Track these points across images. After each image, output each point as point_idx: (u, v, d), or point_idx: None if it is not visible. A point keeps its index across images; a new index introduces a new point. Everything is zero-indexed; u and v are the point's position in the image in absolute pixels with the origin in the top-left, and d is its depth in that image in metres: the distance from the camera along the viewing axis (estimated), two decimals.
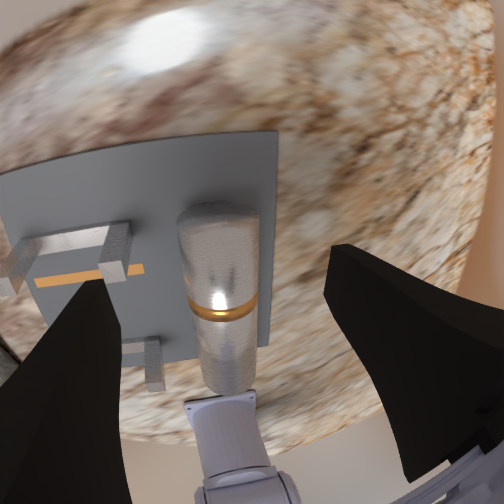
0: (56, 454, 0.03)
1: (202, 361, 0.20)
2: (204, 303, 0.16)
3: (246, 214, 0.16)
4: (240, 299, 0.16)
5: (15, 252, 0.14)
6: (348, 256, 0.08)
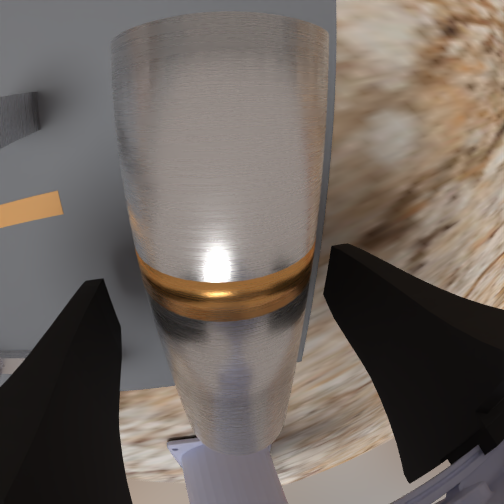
0: (56, 454, 0.03)
1: (185, 403, 0.09)
2: (173, 263, 0.05)
3: None
4: (281, 250, 0.06)
5: None
6: (348, 256, 0.08)
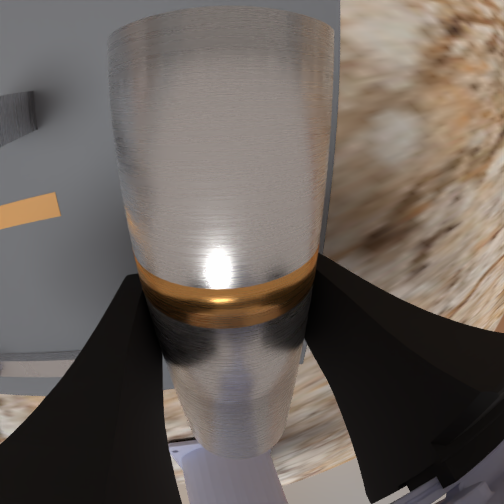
0: (131, 456, 0.03)
1: (185, 407, 0.09)
2: (172, 269, 0.05)
3: None
4: (284, 256, 0.05)
5: None
6: None
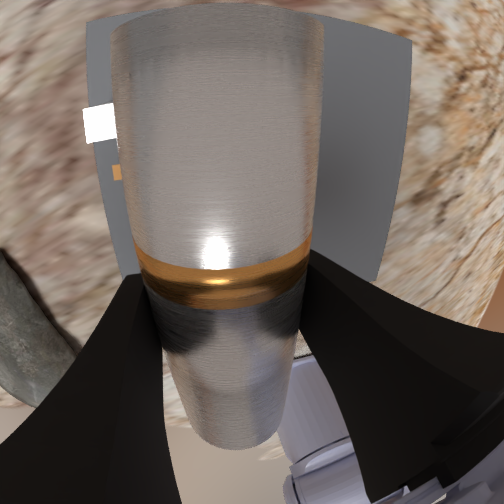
0: (131, 456, 0.03)
1: (179, 392, 0.09)
2: (162, 249, 0.06)
3: None
4: (269, 240, 0.05)
5: None
6: None
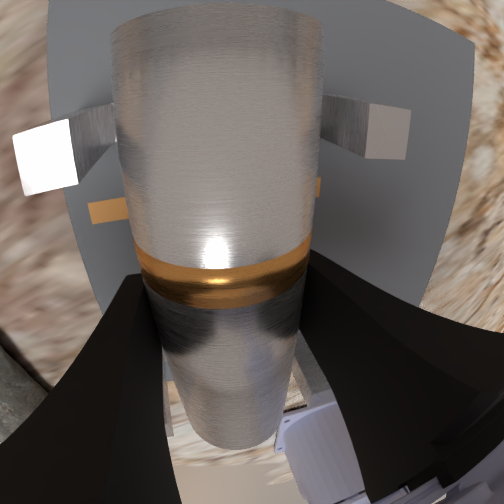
0: (131, 456, 0.03)
1: (179, 392, 0.09)
2: (163, 248, 0.06)
3: None
4: (269, 239, 0.05)
5: (75, 112, 0.06)
6: None
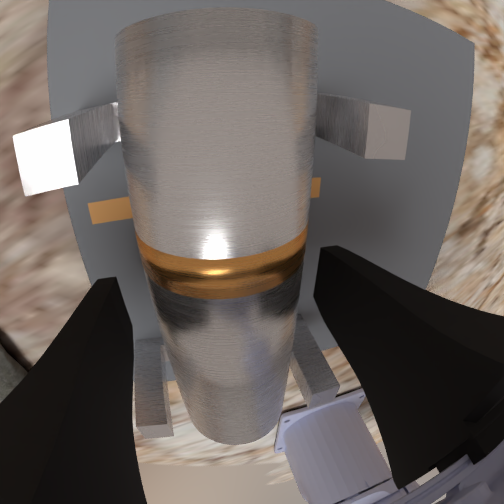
0: (77, 455, 0.03)
1: (180, 386, 0.10)
2: (165, 240, 0.06)
3: None
4: (267, 230, 0.06)
5: (75, 113, 0.06)
6: (336, 258, 0.08)
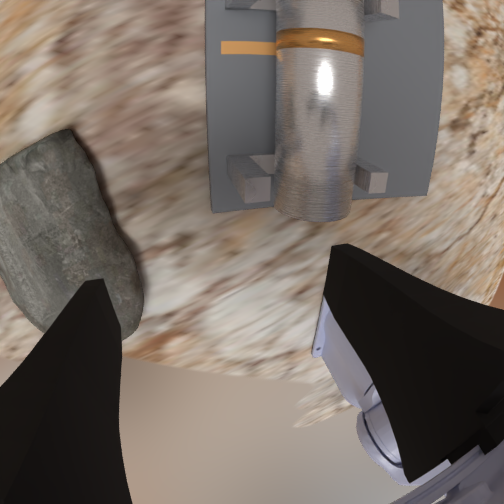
0: (56, 454, 0.03)
1: (292, 148, 0.14)
2: (316, 22, 0.10)
3: None
4: (356, 26, 0.10)
5: None
6: (348, 256, 0.08)
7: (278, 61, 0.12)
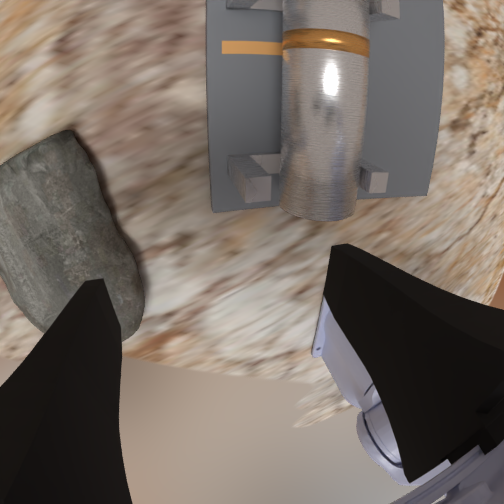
0: (56, 454, 0.03)
1: (303, 148, 0.13)
2: (329, 23, 0.10)
3: None
4: (365, 29, 0.10)
5: None
6: (348, 256, 0.08)
7: (287, 61, 0.12)
